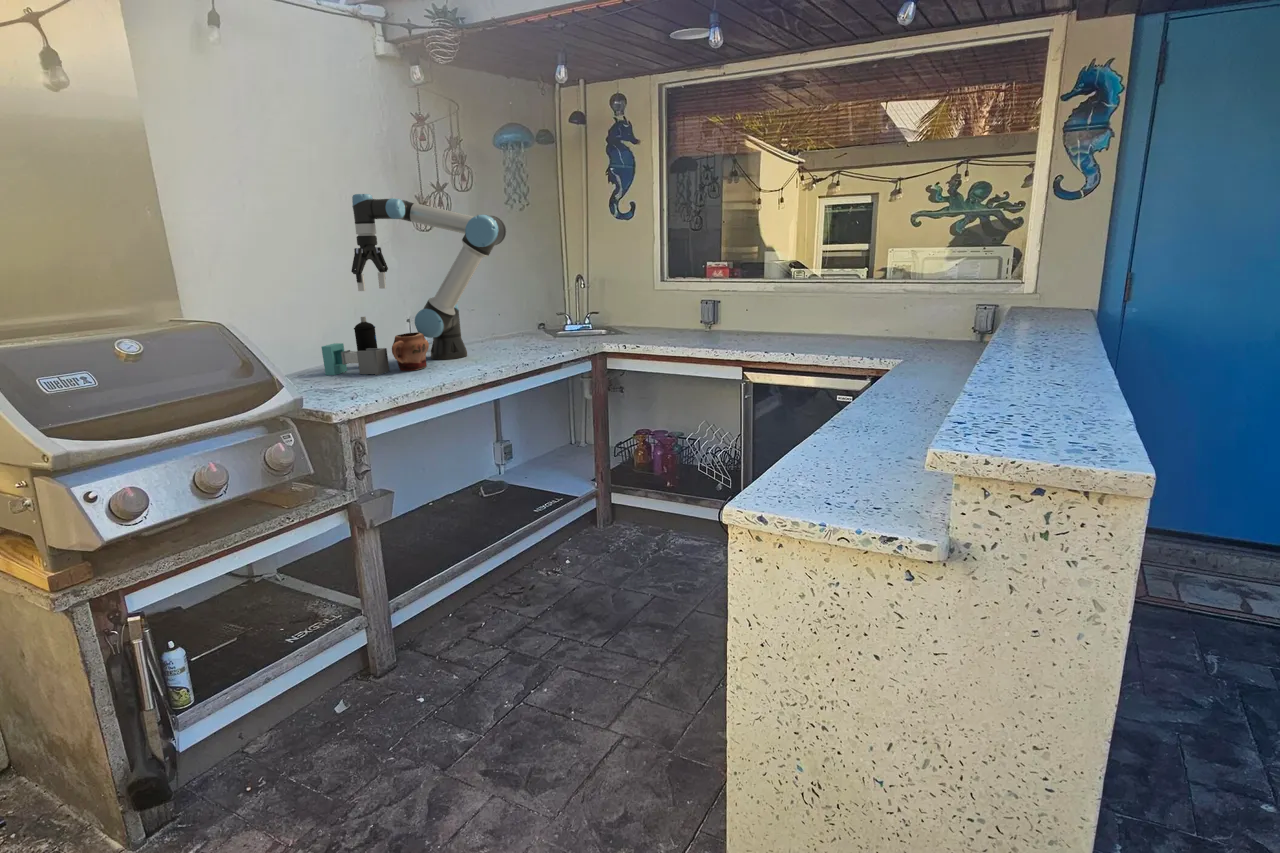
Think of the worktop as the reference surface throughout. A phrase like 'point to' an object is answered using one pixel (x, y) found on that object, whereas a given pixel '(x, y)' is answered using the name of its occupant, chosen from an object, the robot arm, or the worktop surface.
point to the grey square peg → (349, 357)
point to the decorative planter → (410, 351)
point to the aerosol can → (365, 335)
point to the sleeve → (373, 361)
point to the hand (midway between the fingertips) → (372, 289)
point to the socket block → (333, 359)
